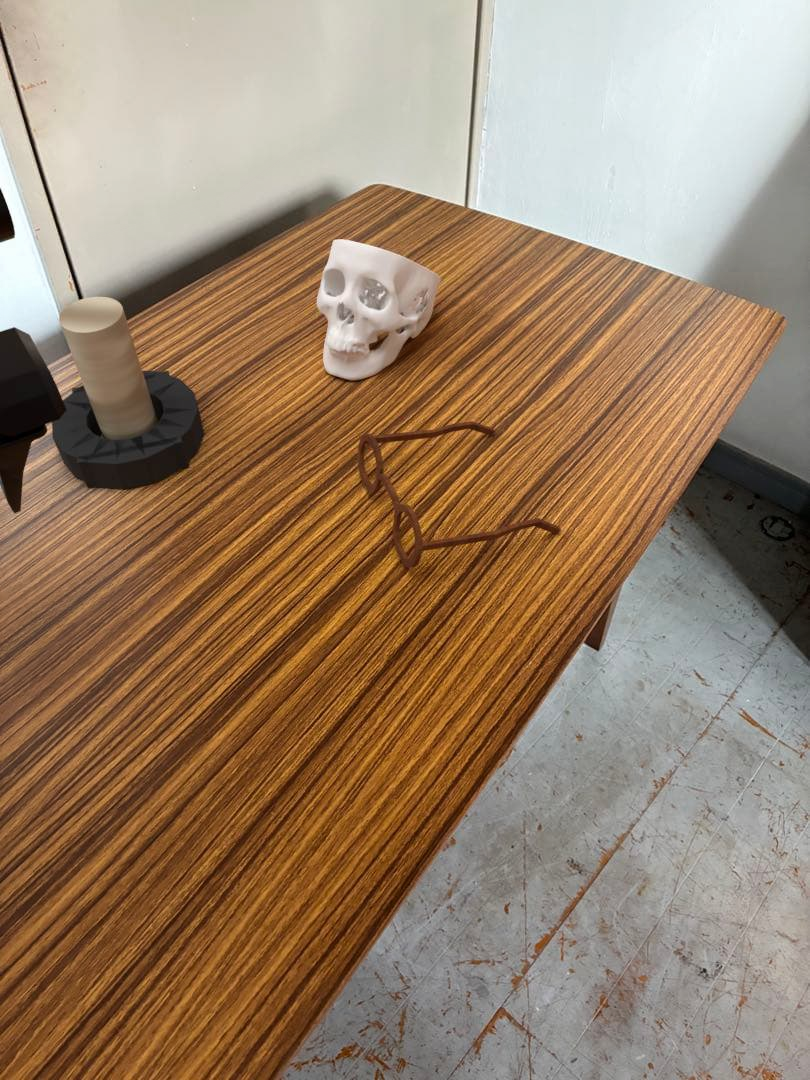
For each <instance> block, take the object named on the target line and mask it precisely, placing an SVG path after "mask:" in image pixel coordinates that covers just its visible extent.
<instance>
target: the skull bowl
mask: <svg viewBox="0 0 810 1080" xmlns="http://www.w3.org/2000/svg"><path fill="white" fill-rule="evenodd" d="M441 281H442V279H441V277H440V275H438V274H437V273H436V272H434V271H432V270H431V269H429V268H427V267H425V266H423V265H421V264H419V263H417V262H415V261H414V260H412V259H409V258H407V257H405V256H403V255H400V254H398V253H395V252H393V251H390V250H387V249H384V248H381V247H377V246H374V245H371V244H367V243H362V242H358V241H354V240H349V239H342V238H341V239H333V240H332V244H331V247H330V251H329V256H328V259H327V263H326V265H325V266H324V268H323V271H322V275H321V281H320V285H319V290H318V293H317V297H316V307H317V310H318V311H319V312H320V313H321V314H323V315H324V316H325V317H326V320H327V328H326V334H325V339H324V344H323V350H322V362H323V368H324V370H325V371H326V372H327V373H328V374H329V375H330V376H335V377H338V378H340V379H342V380H343V379H344V380H347V381H359V380H363V379H367V378H370V377H373V376H375V375H377V374H378V373H379V372H382V370H384V369H385V368H386V367H388V366H390V365H391V364H392V363H393V362H395V360H396V359H397V357H398V355H399V354H400V351H401V350H402V348H403V347H404V345H405V343H406V342H407V341H408V339H409V338H410V339H415V338H416V337H418V336H419V335H420V334H421V332H422V331H423V330H424V329H425V328H426V326H427V325H428V323H429V321H430V319H431V317H432V314H433V311H434V307H435V301H436V296H437V293H438V290H439V287H440V285H441ZM402 330H403V331H402ZM383 333H388V335H387V337H385V339H384V340H383V342H382V343H381V344H380V345H379V347H377V348H376V349H370V345H371V344H373V343H377V342H378V336H379V335H380V334H383Z"/></svg>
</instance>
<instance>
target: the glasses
mask: <svg viewBox="0 0 810 1080" xmlns="http://www.w3.org/2000/svg"><path fill="white" fill-rule="evenodd" d="M464 430H472V431H474V432H477V433H481V434H483V435H486V436H487V435H488V436H490V437H492V436H493V435H494V434H495V433H496V429H495V428H494V427H490V426H488V425H486V424H485V425H484V424H481V423H479V422H475V421H473V420H472V421H464V422H463V421H462V422H456V423H450V424H448V425H447V424H446V425H445V426H444V425H443V426H441V427H438V428H434V429H433V428H432V429H426V430H425V429H424V430H415V431H414V430H413V431H403V432H395V433H386V434H375V435H373V434H372V433H363V434H362V435H361V437H360V439H359V442H358V447H357V448H358V449H357V463H358V464H357V465H358V471H359V475H360V479H361V481H362V484H363V486H364V487H365V489H366V491H367V492H369V494H370V493H371V494H374V493H378V492H379V491H380V488H381V485H382V484H383V487H384V489H385V490H386V492H387V494H388V497H389V498H390V500H391V502H392V505H393V509H394V515H393V521H392V537H393V542H394V547H395V550H396V552H397V555H398V557H399V559H400V561H401V563H402V564H403V565H404V566H405V567H406V568H408V569H411V568H416V567H417V566H418V565H419V563H420V561H421V559H422V554H423V552H425V551H426V552H427V551H431V550H432V551H433V550H439V549H444V548H451V547H457V546H462V545H468V544H475V543H480V542H486V541H487V542H488V541H492V540H496V539H499V538H501V537H504V536H507V535H509V534H511V533H514V532H517V531H522V530H524V529H529V528H532V527H534V528H535V527H536V528H538V529H541V530H544V531H546V532H549V533H551V534H554V535H557V534H558V533H560V532H561V531H562V529H561V527H560V526H559V525H556V524H554V523H552V522H549V521H547V520H544V519H541V518H539V517H537V518H533V519H527V520H523V521H518V522H514V523H512V524H508V525H505V526H504V527H501V528H499V529H495V530H490V531H484V532H478V533H471V534H466V535H459V536H452V537H447V538H440V539H434V540H426V541H423V534H422V533H423V532H422V529H421V524H420V522H419V519H418V517H417V514H416V512H415V511H414V509H413V508H412V507H411V506H410V505H409V504H408V503H403V502H402V503H400V502H401V501H400V498H399V496H398V492H396V488H394V485H393V484H392V482H391V480H390V477H389V476H388V475H387V474H385V473H384V471H385V469H384V468H385V467H384V461H383V455H382V452H381V448H380V445H379V444H385V443H395V442H396V443H397V442H403V441H414V440H422V439H423V440H424V439H432V438H436V437H440V436H442V435H446V434H449V433H452V432H459V431H464ZM367 445H370V447H371V449H372V451H373V454H374V458H375V459H374V460H375V465H376V466H375V467H376V471H375V477H374V478H375V479H374V481H373V483H372V482H371V480H370V479H369V476H368V474H367V469H366V465H365V452H366V451H365V450H366V446H367ZM403 514H405V515H406V516H407V518H408V520H409V522H410V525H411V527H412V530H413V536H414V550H413V555H412V557H411V558H410V556H408V554H407V553H406V551H405V549H404V546H403V543H402V538H401V520H402V515H403Z"/></svg>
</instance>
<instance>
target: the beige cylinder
mask: <svg viewBox="0 0 810 1080" xmlns="http://www.w3.org/2000/svg"><path fill="white" fill-rule="evenodd" d="M124 310H125V309H124V307H123V305H122V304H121V303H120V302H119V301H118V300H116V299H115V298H112V297H107V296H90V297H84V298H81V299H78V300H76V301H74V302H72V303H70V304H68V305H67V306H65V308H64V309H62V311H61V312H60V314H59V317H58V321H59V325H60V327H61V331H62V333H63V335H64V338H65V341H66V343H67V346H68V348H69V351H70V354H71V356H72V359H73V361H74V364H75V366H76V369H77V372H78V374H79V377H80V380H81V383H82V385H84V388H85V390H86V393H87V396H88V398H89V401H90V404H91V406H92V409H93V411H94V414H95V417H96V419H97V422H98V425H99V427H100V430H101V432H102V433H101V435H102V438H105V439H112V440H124V439H129V438H134V437H137V436H139V435H141V434H143V433H145V432H147V431H149V430H151V429H152V428H153V427H154V426H155V425H156V424H157V423H159V421H158V419H157V417H156V414H155V411H154V408H153V404H152V401H151V398H150V395H149V391H148V388H147V385H146V381H145V378H144V375H143V372H142V371H143V369H142V366H141V362H140V359H139V356H138V353H137V350H136V349H137V348H136V345H135V343H134V342H135V341H134V340H133V337H132V333H131V330H130V327H129V322H128V320H127V317H126V313H125V311H124Z"/></svg>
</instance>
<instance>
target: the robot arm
mask: <svg viewBox="0 0 810 1080" xmlns="http://www.w3.org/2000/svg"><path fill="white" fill-rule="evenodd" d="M15 237H16V231H15V225H14V221H13V218H12V215H11V212H10V209H9V206H8V203H7V201H6V199H5V195H4V193H3V190H2V188H1V187H0V243H4V242H7V241H10V240H13V239H15ZM63 400H64V399H63V397H62V395H61V393H60V390H59V388H58V385H57V383H56V381H55V379H54V377H53V375H52V372H51V371H50V369H49V367H48V365H47V363H46V361H45V360H44V358H43V356H42V354H41V353H40V350H39V349H38V347H37V346H36V343H35V341H34V340H33V338H32V336H31V335H30V333H28V332H25V331H23V330H22V329H19V328H17V327H15V326H14V327H11V328H7V329H4V330H1V331H0V488H1V490H2V493H3V495H4V497H5V500H6V502H7V504H8V505H9V507H10V509H11V511H12V512H13V514H17V513H19V512H21V510H22V500H23V499H22V498H23V481H24V471H25V468H26V463H27V460H28V457H29V453H30V451H31V446H32V443H33V442H34V441H36V440H39V439H41V438H43V437H44V436H46V434H47V433H48V427H47V425H48V424H50V423H51V424H52V422H54V421H56V420H59V419H60V418H61V417H62V416H63V414H64V413H65V412H66V410H67V409H66V407H65V405H64V402H63Z"/></svg>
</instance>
